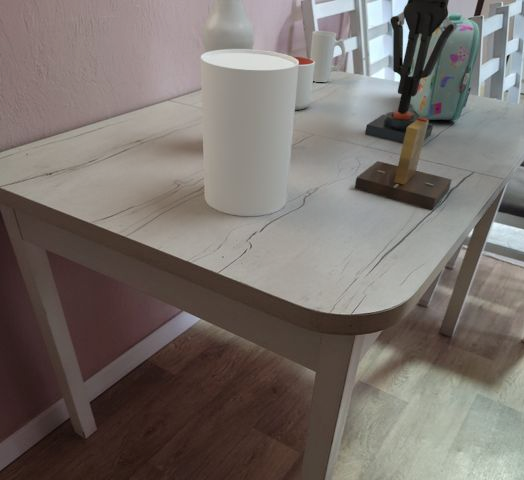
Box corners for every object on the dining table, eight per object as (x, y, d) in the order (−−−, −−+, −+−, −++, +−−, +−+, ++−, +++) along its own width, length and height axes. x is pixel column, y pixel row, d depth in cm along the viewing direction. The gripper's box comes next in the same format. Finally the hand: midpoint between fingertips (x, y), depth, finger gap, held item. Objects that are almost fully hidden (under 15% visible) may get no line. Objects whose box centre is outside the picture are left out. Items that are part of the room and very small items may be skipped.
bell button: (412, 120, 108) (414, 112, 107) (406, 125, 105) (408, 116, 104) (395, 117, 109) (397, 108, 108) (389, 121, 107) (391, 112, 106)
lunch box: (464, 129, 115) (498, 21, 101) (421, 126, 115) (449, 18, 101) (436, 99, 135) (460, 5, 121) (399, 96, 135) (419, 2, 121)
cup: (276, 98, 127) (279, 54, 121) (313, 103, 126) (318, 59, 119) (265, 108, 120) (268, 61, 114) (305, 113, 118) (309, 66, 112)
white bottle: (257, 153, 96) (265, -25, 78) (210, 156, 93) (207, -28, 75) (243, 137, 103) (247, -31, 84) (199, 140, 100) (193, -33, 82)
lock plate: (448, 190, 87) (452, 178, 86) (432, 210, 80) (435, 197, 79) (375, 171, 92) (377, 159, 91) (354, 188, 85) (356, 176, 84)
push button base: (430, 135, 110) (435, 116, 108) (416, 147, 104) (421, 127, 101) (380, 124, 115) (384, 106, 112) (364, 135, 108) (368, 115, 106)
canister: (187, 196, 80) (180, 55, 66) (244, 175, 87) (247, 45, 74) (247, 224, 73) (252, 75, 60) (303, 199, 81) (318, 62, 68)
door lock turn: (404, 184, 82) (418, 127, 76) (393, 182, 83) (407, 125, 77) (415, 174, 86) (429, 118, 80) (405, 171, 87) (418, 116, 81)
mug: (305, 81, 143) (310, 33, 135) (309, 76, 148) (314, 30, 140) (340, 85, 141) (346, 37, 133) (342, 80, 146) (349, 33, 138)
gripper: (474, -22, 91) (437, 113, 106) (406, -29, 95) (381, 101, 111) (464, -21, 86) (426, 121, 101) (393, -28, 90) (368, 109, 106)
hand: (402, 111), depth 106 cm, fingers closed
